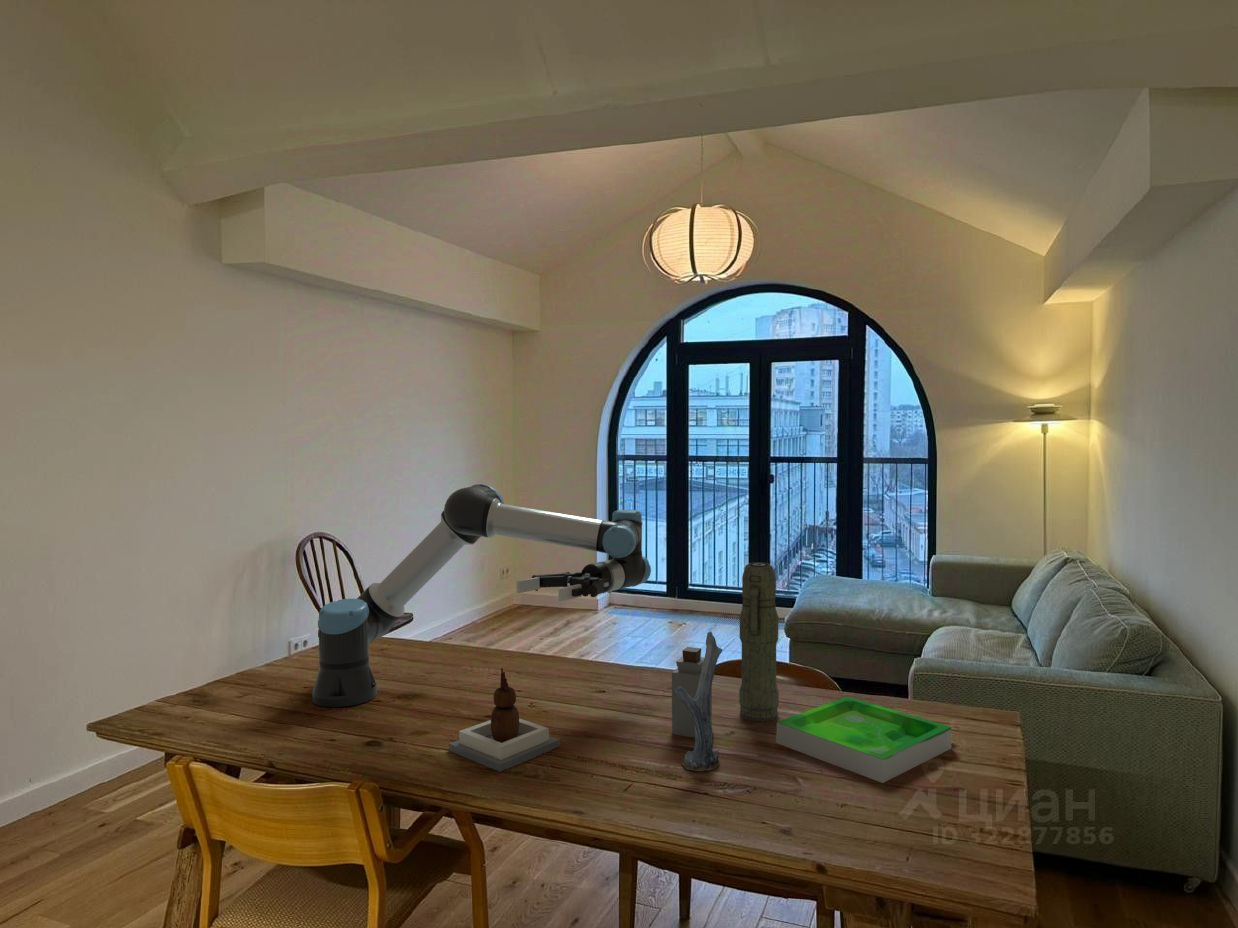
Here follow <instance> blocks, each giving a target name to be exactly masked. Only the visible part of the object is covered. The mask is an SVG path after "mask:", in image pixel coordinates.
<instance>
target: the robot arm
mask: <svg viewBox="0 0 1238 928" xmlns="http://www.w3.org/2000/svg"><path fill="white" fill-rule="evenodd" d="M496 535H497V536H504V537H510V538H515V539H519V540H520V539H521V540H528V541H532V542H533V541H534V542H539V543H546V544H551V545H557V546H563V547H569V548H574V549H575V548H576V549H580V550H586V551H594V552H599V553H604V554H607V555H609V556H610V557H612V559H608V560H603V561H599V562H593V563H589V564H587V565H585V566H584V567H583V568H582V570H581V571H578V572H577V571H576V572H574V573H572V572H570V571H567V572H561V573H549V574H533V575H531V578H526V579H521V580H517V581H516V594H521V593H522V594H523V593H527V592H531V591H535V592H538V591H539V590H540V589H541V588H558V589H557V590H558V601H559V602H564V601H568V600H571V599H577V598H581V597H584V598H585V597H588V596H589V595H590V597H591V598H596V597H597V596H598V595H601V594H606V593H608V594H612V592H613V591H618V590H622V589H627V588H633V587H636V586H639V585H642V584H644V583H646V582H648V580H649V578H650V576H651V572H652V568H651V565H650V563H649V560H648V558H647V557H645V556H644V555H643V548H642V547H643V541H642V540H643V520H642V513H641V511H640V510H637V509H617V510H615V511H613V512H612V519H611V521H610V520H609V521H608V520H602V519H596V518H590V517H584V516H578V515H572V514H565V513H559V512H555V511H554V512H553V511H548V510H541V509H537V508H529V507H523V506H517V505H512V504H507V503H505V502H504V499H503V497H502V495H501V494H500V493H499V491H498V490H497V489H496V488H494V487H493V486H491V485H488V484H483V483H482V484H480V483H477V484H474V485H471V486H468V487H462V488H460V489H456V490H455V491H454V492H452V493H451V494H450V495H449V496H448V498H447V499H446V501H445V504H444V508H443V511H442V512H441V513H440V522H439V523H438V524H437V525H436V526H435V527H434V528H433V529H432V530H431V532H430V533H429V534H428V533H427V535H426V536H425V537H424V539H423V540H421V541H420V542H419V543H418V544H417V545H416V547H414V548H413V549H412V550H411V552H409V554H408V555H407V556H405V557H404V558H403V559H402V560H401V562H400V563H398V565H396V567H394V569H393V570H391V572H390V573H389V574H388V575H387V576H386V577H385V578H384V579H383V580H382V581H381V582H373V583H371V584H370V585H369V586H368V587H367V588H366V589H365V590H363V591H362V593H361V594H360V595H359V596H358V597H357V598H343V599H339V600H337V601H336V600H334V601H331V602H328V603H326V604H324V605H323V606H322V607H321V608H320V609H319V613H318V619H317V628H318V655H319V656H318V658H319V659H318V660H319V661H318V662H319V667H318V668H319V669H318V673H317V676H316V678H315V679H316V680H315V682H314V683H315V684H314V685H313V689H312V703H314V704H315V705H316V706H319V707H324V708H325V707H326V708H344V707H350V706H351V707H352V706H357V705H361V704H363V703H366V702H369V701H371V700H373V699H375V697H377V695H378V686H377V682H376V679H375V676H374V674H373V670H372V668H371V666H370V649H369V648H370V644H371V643H372V642H375V641H376V640H378V639H380V638H382V637H383V636H386V635H387V634H389V632H391V630H392V629H393V628H394V627H395V625H396V623H397V621H398V620H399V619H401V617H402V616H403V615H404V614H405V606H406V604H408V602H409V601H410V600H411V599H412V598H413V597H414V596H415V595H416V594H417V593H418V592H419V591H420V590H421V589H422V588H423V587H424V586H425V585H426V584H427V583H429V581H430V580H431V579H432V578H433V577H434V576H435V575H436V574H437V573H438V572H439V571H441V569H442V568H443V567H444V566H446V564H447V563H448V562H449V561H450V560H451V559H452V558H453V557H454V556H455V555H456V554H457V553H458V552H460V550H461V549H462V548H463V547H464V546H466V545H474V544H476V542H478V540H479V539H481V537H483V538H488V539H491V538H493V537H494V536H496ZM568 584H569V585H568Z"/></svg>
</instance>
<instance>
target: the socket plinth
mask: <svg viewBox="0 0 1238 928" xmlns="http://www.w3.org/2000/svg"><path fill="white" fill-rule="evenodd" d="M549 730H550V729H549V728H548V727H546V726H543V725H541V724H537V723H535V722H531V721H529V720H525V719H522V718H520V717H519V731H518V735H517V737H516V738H513V739H511V740H508V741H506V742H503V743H500V742H498V741H495V740H494V739H493V736H492V732H491V719H490V720H487V721H484V722H481V723H479V724H475V725H473V726H469V727H467V728H464V729H461V730H459V731H458V733H459V734H458V736H459V737H458V740H455V741H452V742H449V743H448V751H449V752H451V753H453V754H456V755H458V756H461V757H463V758H466V759H468V760H470V761H473V762H476V763H478V764H480V765H483V766H484V767H487V768H490V769H492V770H494V771H497V772H499V773H500V772H501V773H502V772H503V770H504V771H506V770H508V769H510V767H511V768H513V767H515V766H518V765H520V764H522V762H523V763H525V762H527V761H530V760H531V759H534V758H536V756H537V757H539V756H540V755H544V754H546V753H548V752H550V750H551V751H553V750H555V749H557V748H556V747H558V748H559V747H560V739H558V738H555V737H552V736H550V731H549ZM554 748H555V749H554ZM552 749H553V750H552ZM547 751H548V752H547ZM545 752H546V753H545ZM543 753H544V754H543ZM529 759H530V760H529ZM505 769H506V770H505Z"/></svg>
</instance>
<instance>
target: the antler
mask: <svg viewBox="0 0 1238 928" xmlns="http://www.w3.org/2000/svg"><path fill="white" fill-rule="evenodd" d="M706 634H707V635H706V637H705V638H706V640H705V645H706V646H705V652H704V653H705V655H704V662H703V666H702V670H701V675H700V679H699V683H698V688H697V692H696V695H695V697H694V698H692V697H690V696H689V695H688V693H687V692H686V691H685V690H684V688H683V687H681V686H679V687H677V688H676V689H675V693H676V695H677V696H678V698H679V699H680V700H682V701H683V703H685V705H686V707H687V710H688V712H689V715H690V716H691V719H692V722H693V724H694V731H695V738H694V746H693V747H694V749H693V751H691V750H688V751H686V754H685V755H684V759H683V760H684V761H683V762H682V763H681V766H683V767H684V768H685V769H686V770H690V771H691V770H692V771H695V772H696V771H697V772H703V771H712V770H715V769H716V768H717V767H718V766H719V765H720V760H719V756H720V755H719V753H720V752H719V750H715V751H713V746H714V745H713V744H714V743H713V742H714V734H713V730H712V729H713V728H711V722H710V716H711V715H710V709H709V708H710V691H711V686H712V684H713V679H714V676H715V673H716V672H715V671H716V666H717V663H718V659H719V658H720V656H721V653H722V652H723V649H722V648H721V647H719V646H718V645H717V641H716V637H715V636H714V635H713V633H712V631H708V632H707V633H706ZM712 687H713V686H712Z"/></svg>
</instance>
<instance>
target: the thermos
mask: <svg viewBox="0 0 1238 928" xmlns="http://www.w3.org/2000/svg"><path fill="white" fill-rule="evenodd" d="M773 567H774V566H773V565H772V564H770V563H768V562H762V561H761V562H760V561H758V562H755V561H754V562H749V563H748V564H746V565H745V567H744V570H743V572H742V577H741V579H742V580H741V581H742V582H741V584H742V585H741V590H742V592H741V593H742V594H741V596H742V604H741V606H742V607H741V611H740V614H739V640H740V642H741V685H740V688H739V690H738V691H739V694H738V696H739V699H738V700H739V701H738V702H739V707H740V708H739V715H740V717H742V718H744V719H746V720H748V721H754V722H771V721H774V720H776V719H778V716H779V712H778V708H779V703H780V702H779V699H780V698H779V696H780V695H779V692H780V691H779V687H778V684H777V643H778V642H779V615H778V612H777V609H776V608H777V607H776V606H777V604H776V598H777V595H776V594H777V593H776V592H777V585H776V584H777V583H776V582H777V580H776V579H777V578H776V577H777V576H776V573H775V570H774V568H773Z"/></svg>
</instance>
